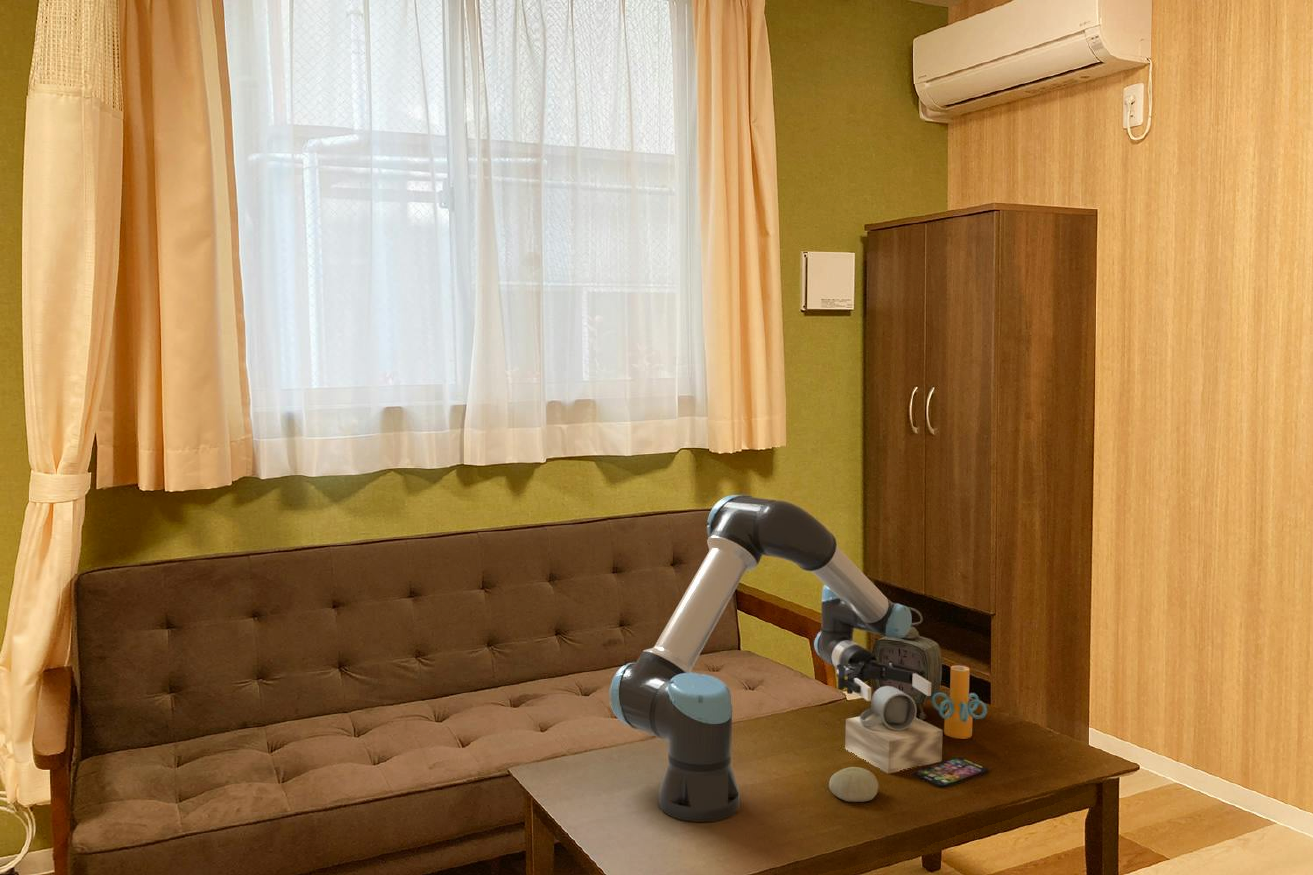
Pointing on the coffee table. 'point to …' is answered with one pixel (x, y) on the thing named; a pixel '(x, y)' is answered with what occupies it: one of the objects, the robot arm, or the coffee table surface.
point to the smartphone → (950, 772)
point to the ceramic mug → (890, 709)
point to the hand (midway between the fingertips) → (899, 691)
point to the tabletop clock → (911, 662)
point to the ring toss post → (959, 705)
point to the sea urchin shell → (854, 784)
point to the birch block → (894, 744)
